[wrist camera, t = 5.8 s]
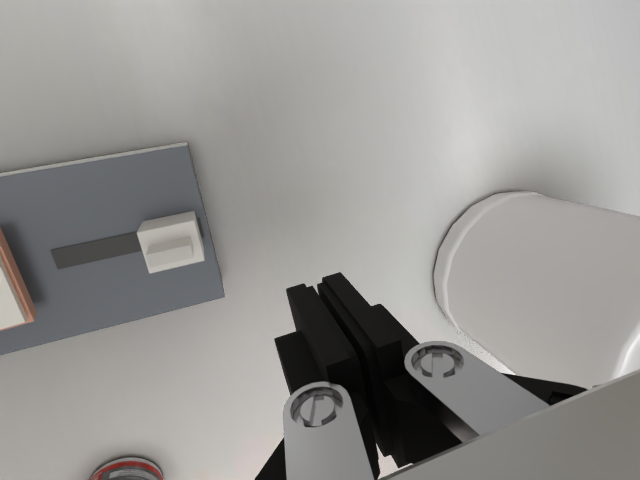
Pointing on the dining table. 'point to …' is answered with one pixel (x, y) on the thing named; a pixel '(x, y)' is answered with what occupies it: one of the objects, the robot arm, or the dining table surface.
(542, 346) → the bottle
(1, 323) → the rocker
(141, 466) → the pill bottle
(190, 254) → the slider
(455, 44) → the dining table surface
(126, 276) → the console
